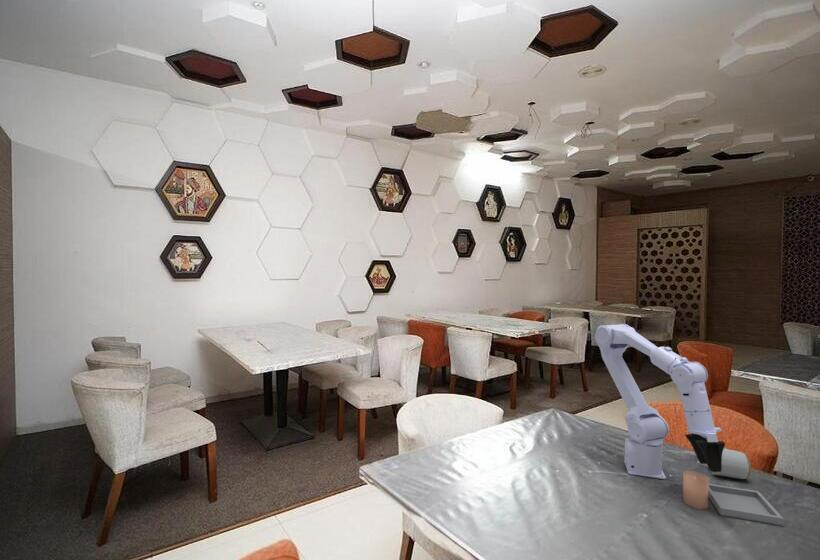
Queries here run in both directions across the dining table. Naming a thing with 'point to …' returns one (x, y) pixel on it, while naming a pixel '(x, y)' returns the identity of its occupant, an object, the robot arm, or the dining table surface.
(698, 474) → the pink pillar candle
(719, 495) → the tray
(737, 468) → the ceramic mug
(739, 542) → the dining table surface
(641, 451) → the robot arm
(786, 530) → the dining table surface
